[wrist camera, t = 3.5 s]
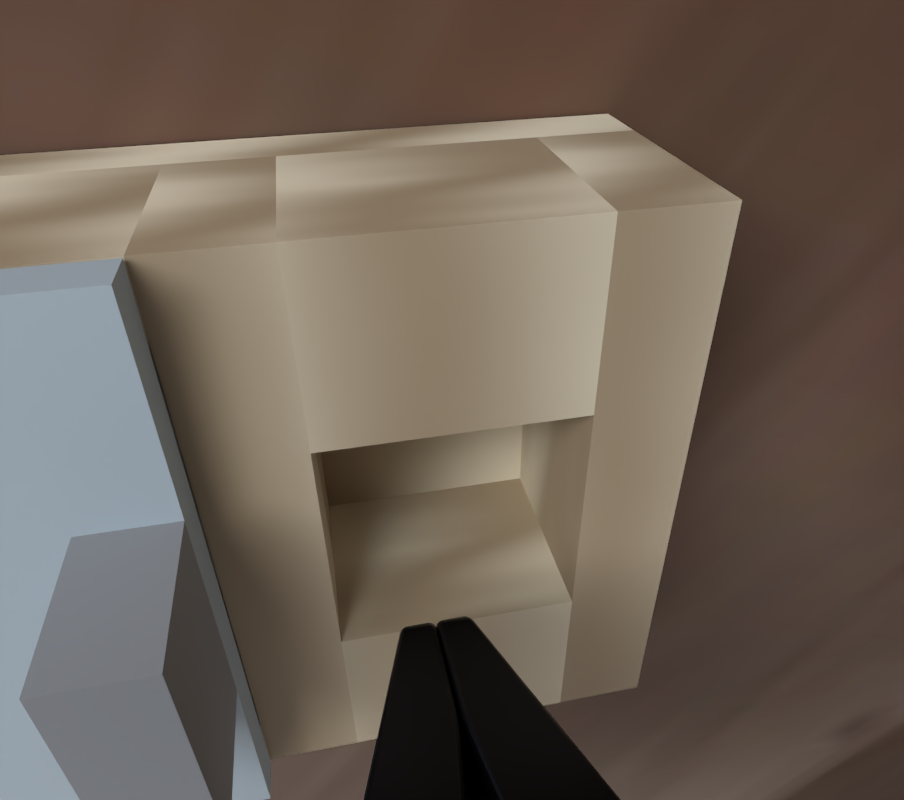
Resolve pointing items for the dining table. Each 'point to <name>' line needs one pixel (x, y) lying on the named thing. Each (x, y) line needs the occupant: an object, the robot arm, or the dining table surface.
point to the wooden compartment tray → (412, 383)
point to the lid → (106, 565)
